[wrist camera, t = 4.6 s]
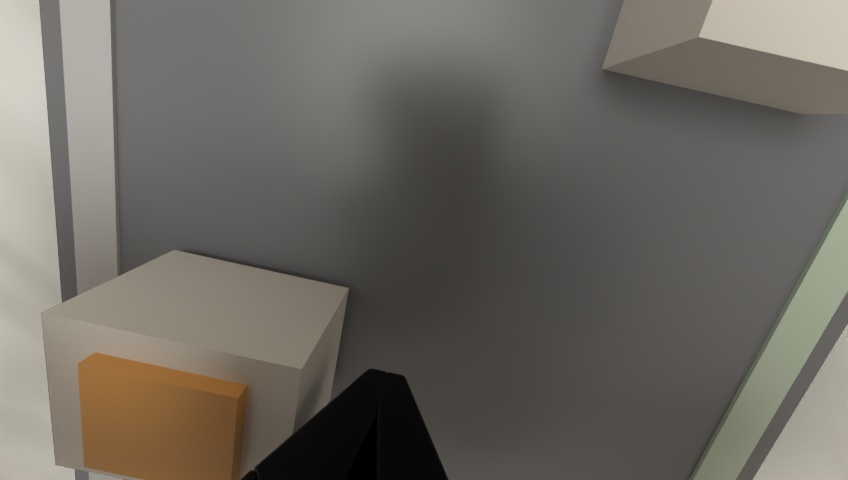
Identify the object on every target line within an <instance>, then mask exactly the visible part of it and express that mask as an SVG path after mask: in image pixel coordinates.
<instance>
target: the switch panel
mask: <svg viewBox="0 0 848 480" xmlns="http://www.w3.org/2000/svg"><path fill="white" fill-rule="evenodd" d="M39 4H40V17H41V30H42V44H43V57H44V70H45V83H46V96H47V110H48V123H49V136H50V149H51V162H52V176H53V189H54V202H55V215H56V229H57V242H58V255H59V268H60V281H61V295H62V303H63V302H65V301H67V300H69V299H71V298H74V297H76V296H78V295H80V294H82V293H84V292H86V291H88V290H90V289H93V288H95V287H97V286H99V285H101V284H103V283H105V282H107V281H109V280H112V279H114V278H116V277H118V276H120V275H122V274H124V273H126V272H128V271H131V270H133V269H135V268H137V267H139V266H141V265H143V264H145V263H147V262H150V261H152V260H154V259H156V258H158V257H160V256H162V255H164V254H166V253H169V252H171V251H173V250H177V251H182V252H186V253H191V254H195V255H200V256H205V257H209V258H214V259H218V260H223V261H228V262H232V263H237V264H241V265H246V266H250V267H255V268H260V269H264V270H269V271H273V272H278V273H282V274H287V275H292V276H296V277H301V278H305V279H310V280H315V281H319V282H324V283H328V284H333V285H337V286H342V287H347V288H349V291H348V297H347V303H346V309H345V315H344V321H343V327H342V333H341V338H340V344H339V350H338V356H337V362H336V368H335V374H334V380H333V386H332V392H331V397H330V399H329V402H331V401H332V400H333V399H334V398H335V397H336V396H338V395H339V394H340V393H341V392H342V391H343V390H344V389H346V388H347V387H348V386H349V385H350V384H351V383H353V382H354V381H355V380H356V379H357V378H358V377H360V376H361V375H362V374H363V373H364V372H365V371H367V370H368V369H370V368H373V369H378V370H382V371H386V372H391V373H396V374H401V375H404V376H405V377H406V379H407V382H408V384H409V386H410V389H411V391H412V394H413V396H414V398H415V401H416V403H417V405H418V408H419V410H420V413H421V415H422V417H423V420H424V422H425V424H426V427H427V429H428V432H429V434H430V436H431V439H432V441H433V444H434V446H435V448H436V451H437V453H438V455H439V458H440V460H441V463H442V465H443V467H444V470H445V472H446V474H447V477H448V479H449V480H752V479H753V477H754V476H755V474H756V473H757V471H758V469H759V468H760V466H761V464H762V463H763V461H764V459H765V458H766V456H767V455H768V453H769V451H770V450H771V448H772V446H773V445H774V443H775V441H776V440H777V438H778V437H779V435H780V433H781V432H782V430H783V428H784V427H785V425H786V423H787V422H788V420H789V418H790V417H791V415H792V414H793V412H794V410H795V409H796V407H797V405H798V404H799V402H800V400H801V399H802V397H803V396H804V394H805V392H806V391H807V389H808V387H809V386H810V384H811V382H812V381H813V379H814V378H815V376H816V374H817V373H818V371H819V369H820V368H821V366H822V364H823V363H824V361H825V359H826V358H827V356H828V355H829V353H830V351H831V350H832V348H833V346H834V345H835V343H836V341H837V340H838V338H839V337H840V335H841V333H842V332H843V330H844V328H845V327H846V325H847V323H848V0H39ZM329 402H328V403H329ZM75 479H76V480H125V479H121V478H116V477H111V476H106V475H102V474H97V473H92V472H88V471H83V470H78V469H75Z"/></svg>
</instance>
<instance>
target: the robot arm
mask: <svg viewBox="0 0 848 480" xmlns="http://www.w3.org/2000/svg"><path fill="white" fill-rule="evenodd" d="M240 480H449V479H448V477H447V474H446V472H445V470H444V467H443V465H442V463H441V460H440V458H439V455H438V453H437V451H436V448H435V446H434V444H433V441H432V439H431V436H430V434H429V432H428V429H427V427H426V424H425V422H424V420H423V417H422V415H421V413H420V410H419V408H418V405H417V403H416V401H415V398H414V396H413V394H412V391H411V389H410V386H409V384H408V382H407V379H406V377H405V376H404V375H401V374H396V373H391V372H386V371H382V370H378V369H373V368H370V369H368V370H367V371H365V372H364V373H363V374H362V375H361V376H360V377H358V378H357V379H356V380H355V381H354V382H353V383H351V384H350V385H349V386H348V387H347V388H346V389H344V390H343V391H342V392H341V393H340V394H339V395H338V396H336V397H335V398H334V399H333V400H332V401H331V402H329V403H328V404H327V405H326V406H325V407H324V408H322V409H321V410H320V411H319V412H318V413H317V414H316V415H314V416H313V417H312V418H311V419H310V420H309V421H307V422H306V423H305V424H304V425H303V426H302V427H300V428H299V429H298V430H297V431H296V432H295V433H293V434H292V435H291V436H290V437H289V438H288V439H287V440H285V441H284V442H283V443H282V444H281V445H280V446H278V447H277V448H276V449H275V450H274V451H273V452H271V453H270V454H269V455H268V456H267V457H266V458H265V459H263V460H262V461H261V462H260V463H259V464H258V465H256V466H255V467H254V470H250V471H249V472H248V473H247V474H246V475H244V476H243V477H242V478H241V479H240Z"/></svg>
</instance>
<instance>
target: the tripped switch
mask: <svg viewBox="0 0 848 480" xmlns="http://www.w3.org/2000/svg"><path fill="white" fill-rule="evenodd" d="M348 291H349V288H347V287H342V286H337V285H333V284H328V283H324V282H319V281H315V280H310V279H305V278H301V277H296V276H292V275H287V274H282V273H278V272H273V271H269V270H264V269H260V268H255V267H250V266H246V265H241V264H237V263H232V262H228V261H223V260H218V259H214V258H209V257H205V256H200V255H195V254H191V253H186V252H182V251H177V250H173V251H171V252H169V253H166V254H164V255H162V256H160V257H158V258H156V259H154V260H152V261H150V262H147V263H145V264H143V265H141V266H139V267H137V268H135V269H133V270H131V271H128V272H126V273H124V274H122V275H120V276H118V277H116V278H114V279H112V280H109V281H107V282H105V283H103V284H101V285H99V286H97V287H95V288H93V289H90V290H88V291H86V292H84V293H82V294H80V295H78V296H76V297H74V298H71V299H69V300H67V301H65V302H63V303H61V304H59V305H57V306H55V307H52V308H50V309H48V310H46V311H44V312H42V313H41V316H42V326H43V337H44V347H45V358H46V369H47V379H48V390H49V400H50V411H51V421H52V432H53V443H54V453H55V464H56V465H59V466H64V467H69V468H73V469H78V470H83V471H88V472H92V473H97V474H102V475H106V476H111V477H116V478H121V479H125V480H240V479H241V478H242V477H243V476H244V475H246V474H247V473H248V472H249V471H250V470H254V467H255V466H256V465H258V464H259V463H260V462H261V461H262V460H263V459H265V458H266V457H267V456H268V455H269V454H270V453H271V452H273V451H274V450H275V449H276V448H277V447H278V446H280V445H281V444H282V443H283V442H284V441H285V440H287V439H288V438H289V437H290V436H291V435H292V434H293V433H295V432H296V431H297V430H298V429H299V428H300V427H302V426H303V425H304V424H305V423H306V422H307V421H309V420H310V419H311V418H312V417H313V416H314V415H316V414H317V413H318V412H319V411H320V410H321V409H322V408H324V407H325V406H326V405H327V404H328V402H329V399H330V397H331V392H332V386H333V380H334V374H335V368H336V362H337V356H338V350H339V344H340V338H341V333H342V327H343V321H344V315H345V309H346V303H347V297H348Z"/></svg>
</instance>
